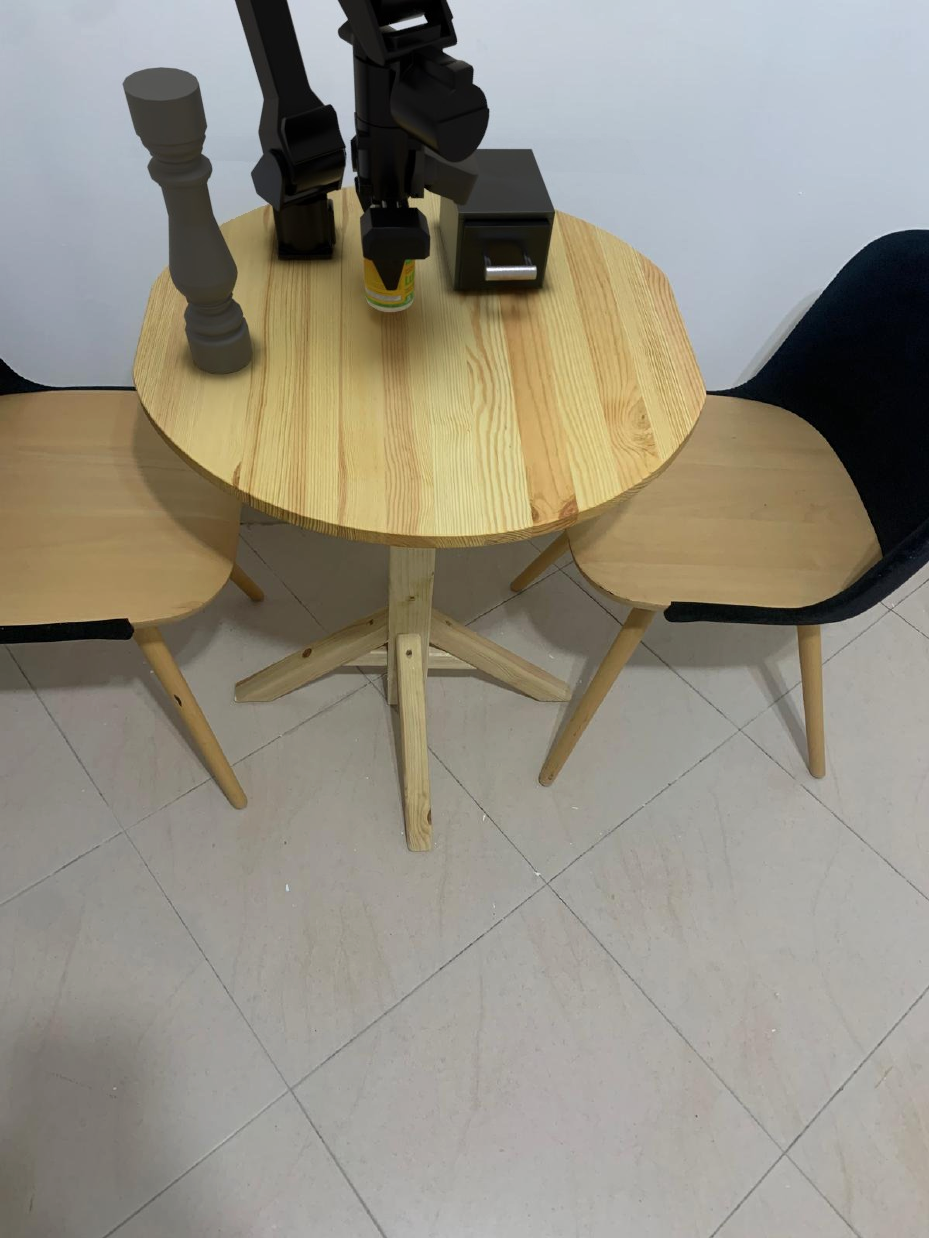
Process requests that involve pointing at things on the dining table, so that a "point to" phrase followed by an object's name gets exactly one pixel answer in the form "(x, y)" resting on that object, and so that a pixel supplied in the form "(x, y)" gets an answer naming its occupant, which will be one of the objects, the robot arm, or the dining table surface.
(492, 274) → the drawer
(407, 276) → the supplement bottle
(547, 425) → the dining table surface
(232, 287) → the candle holder
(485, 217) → the cabinet
